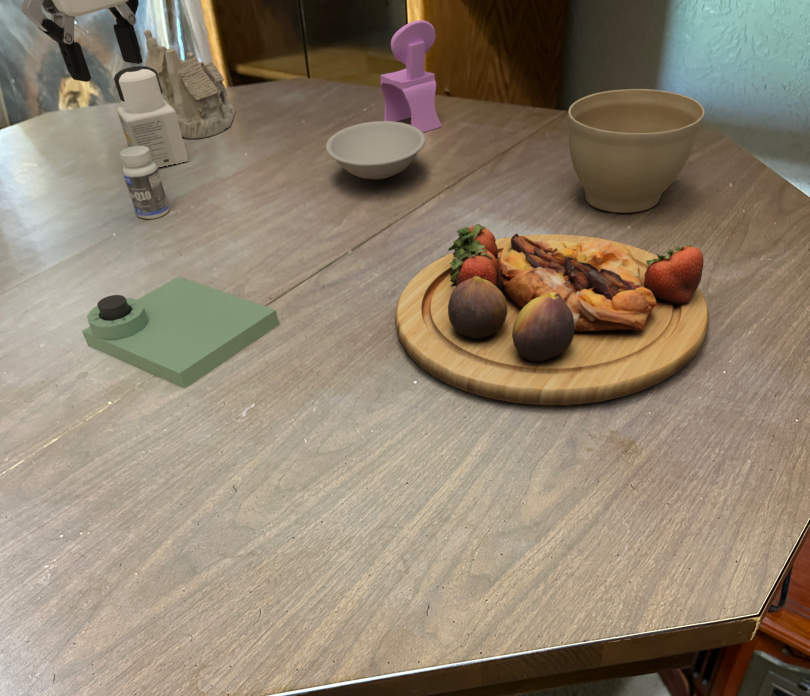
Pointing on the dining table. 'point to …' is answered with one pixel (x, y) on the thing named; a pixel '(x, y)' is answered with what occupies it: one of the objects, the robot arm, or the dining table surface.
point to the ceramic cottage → (191, 91)
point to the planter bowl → (631, 145)
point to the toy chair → (411, 78)
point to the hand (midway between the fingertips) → (108, 70)
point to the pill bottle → (143, 182)
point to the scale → (181, 330)
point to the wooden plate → (553, 317)
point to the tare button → (113, 307)
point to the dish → (376, 148)
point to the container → (149, 116)
